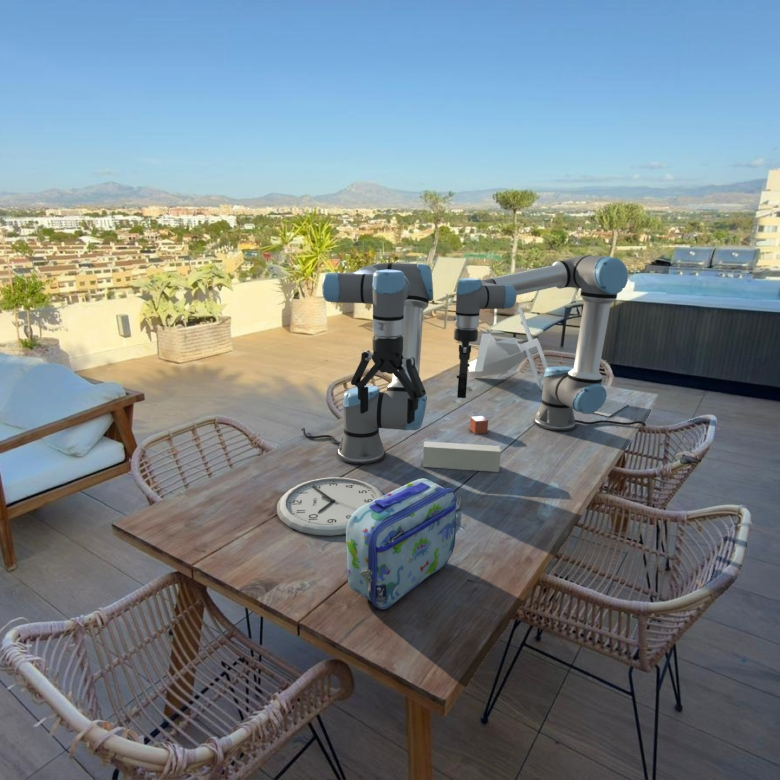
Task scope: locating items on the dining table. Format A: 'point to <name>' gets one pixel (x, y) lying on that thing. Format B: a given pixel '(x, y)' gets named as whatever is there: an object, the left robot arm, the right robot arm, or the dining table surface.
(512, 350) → the white plastic object
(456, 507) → the fork
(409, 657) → the dining table surface
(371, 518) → the lunch box
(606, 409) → the invitation card
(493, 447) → the plank
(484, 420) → the terracotta block
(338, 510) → the wall clock
